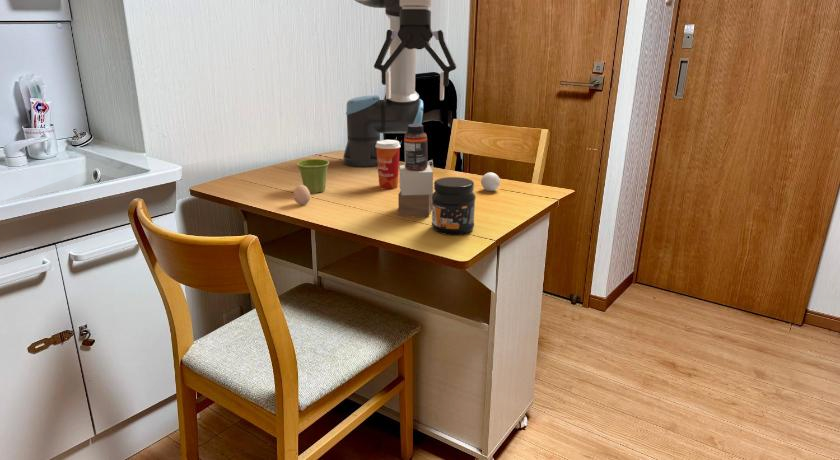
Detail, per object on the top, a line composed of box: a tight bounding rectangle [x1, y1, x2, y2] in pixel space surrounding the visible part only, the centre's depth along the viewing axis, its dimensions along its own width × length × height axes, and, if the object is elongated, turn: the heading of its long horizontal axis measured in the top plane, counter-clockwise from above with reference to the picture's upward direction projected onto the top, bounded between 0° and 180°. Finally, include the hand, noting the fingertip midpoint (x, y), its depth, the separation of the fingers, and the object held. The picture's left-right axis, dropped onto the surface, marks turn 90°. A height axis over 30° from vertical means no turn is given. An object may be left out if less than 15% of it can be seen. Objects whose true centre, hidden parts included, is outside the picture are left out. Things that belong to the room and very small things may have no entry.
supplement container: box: [431, 176, 476, 236], centre depth 140 cm, size 10×10×12 cm
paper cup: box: [375, 139, 401, 190], centre depth 175 cm, size 8×8×14 cm
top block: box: [399, 164, 434, 195], centre depth 152 cm, size 8×8×6 cm
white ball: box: [480, 171, 501, 192], centre depth 173 cm, size 8×6×6 cm
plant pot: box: [296, 158, 330, 194], centre depth 172 cm, size 9×9×9 cm
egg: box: [293, 184, 311, 206], centre depth 159 cm, size 4×4×6 cm
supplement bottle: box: [403, 123, 429, 170], centre depth 149 cm, size 6×6×11 cm
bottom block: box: [397, 190, 432, 218], centre depth 154 cm, size 8×8×6 cm
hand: (415, 99), depth 145 cm, fingers open, 13 cm apart
